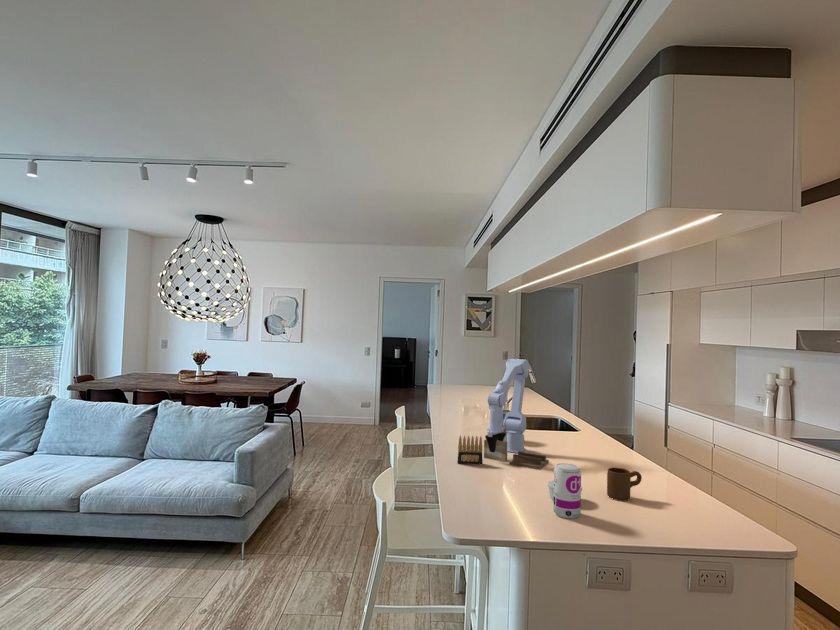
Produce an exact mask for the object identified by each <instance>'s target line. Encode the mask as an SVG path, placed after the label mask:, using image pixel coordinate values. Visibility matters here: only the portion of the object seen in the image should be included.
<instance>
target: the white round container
mask: <svg viewBox="0 0 840 630" xmlns="http://www.w3.org/2000/svg"><path fill="white" fill-rule="evenodd" d="M547 487H548V493H549V498H550V499H551V500H552V502H554V479H553V480H550V481H548V483H547ZM582 491H583V487H582V485H581V492H582Z"/></svg>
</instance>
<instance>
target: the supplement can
mask: <svg viewBox="0 0 840 630" xmlns="http://www.w3.org/2000/svg"><path fill="white" fill-rule="evenodd" d="M553 480H554V501H553V506H552V507H553V512H554V513H555V515H556V516H557V517H560V518H564V519H569V518H570V519H571V520H572V518H573V519H577V518H578V517H580V515H581V514H582V513H581V510H582V509H581V508H582V507H581V505H582V501H581V500H582V496H581V495H582V491H581V486H582V470H580V467H579V466H578V465H576V464H572V463H563V462H562V463H558V464H556V465H555V467H554V469H553ZM570 519H569V520H570Z"/></svg>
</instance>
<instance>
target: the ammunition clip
mask: <svg viewBox="0 0 840 630" xmlns="http://www.w3.org/2000/svg"><path fill="white" fill-rule="evenodd" d="M470 439H471V440H470ZM457 446H458V447H457V465H480V464H482V465H483V463H484V462H483V438H482V436H481V435H480V436H479V438H478V435H476V437H475V439H474V435H472V436H471V438H470V435H468V436H467V439H466V436H465V435H463V438H462V436H461V435H459V438H458V445H457Z"/></svg>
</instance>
